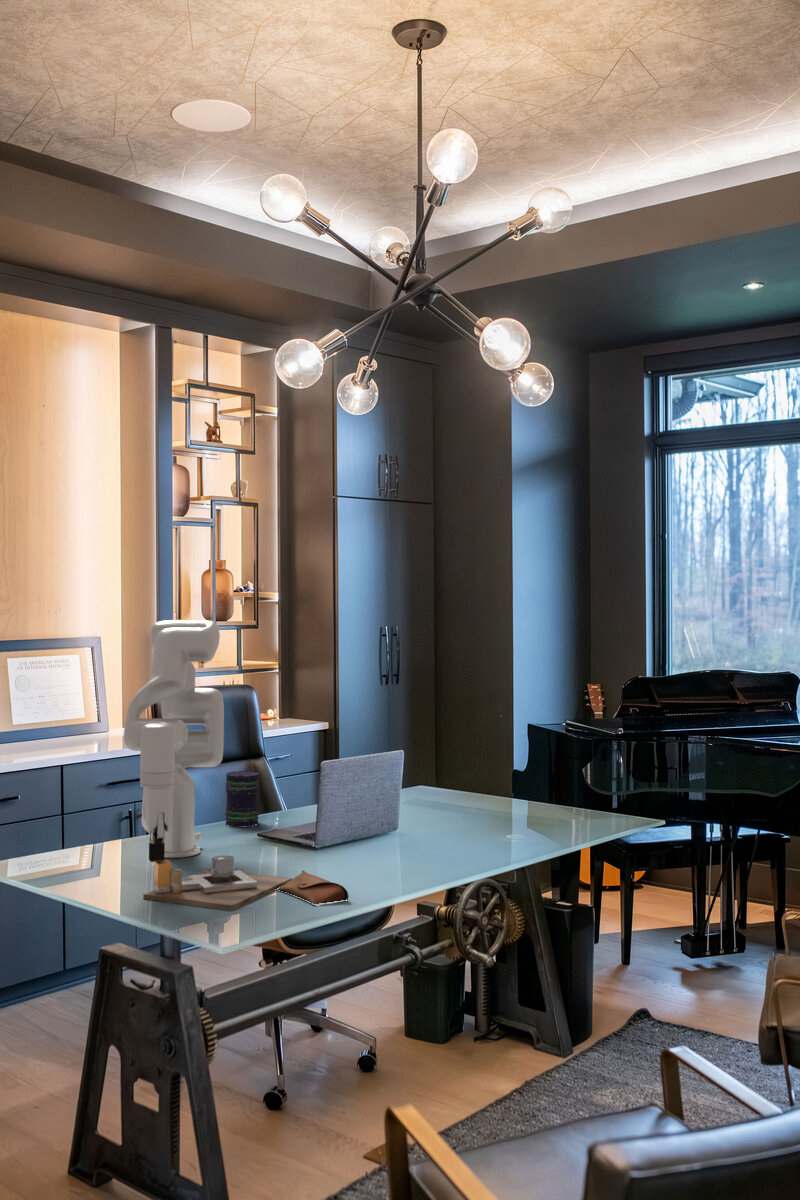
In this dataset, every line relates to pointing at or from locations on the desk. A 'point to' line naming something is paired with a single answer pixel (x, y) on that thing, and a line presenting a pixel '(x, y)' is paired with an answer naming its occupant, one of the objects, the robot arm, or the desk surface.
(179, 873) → the dowel
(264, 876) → the base board
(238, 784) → the storage jar
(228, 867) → the post
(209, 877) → the square frame with handle
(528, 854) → the desk surface
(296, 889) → the sunglasses case
